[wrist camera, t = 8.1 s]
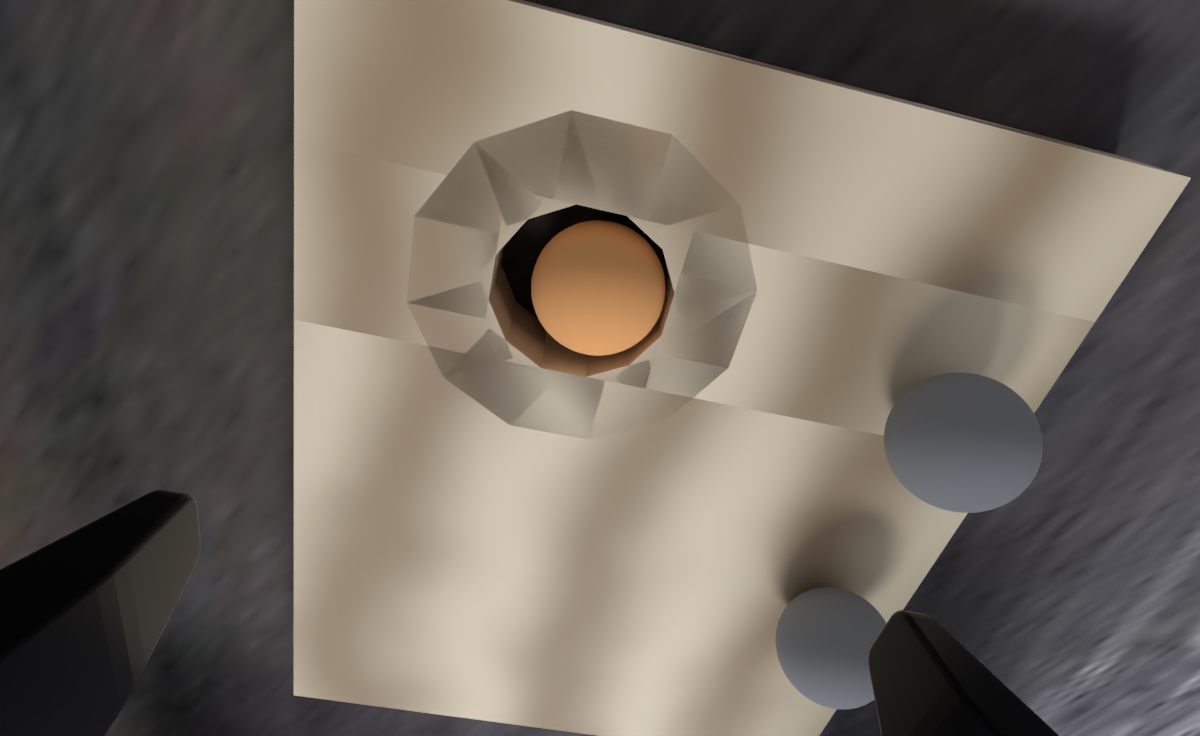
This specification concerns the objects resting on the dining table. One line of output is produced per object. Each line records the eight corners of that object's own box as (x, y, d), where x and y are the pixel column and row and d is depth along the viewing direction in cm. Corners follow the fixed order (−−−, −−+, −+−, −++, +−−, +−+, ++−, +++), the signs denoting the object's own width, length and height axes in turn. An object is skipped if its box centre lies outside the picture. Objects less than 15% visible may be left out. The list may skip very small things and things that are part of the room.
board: (1116, 154, 17) (1191, 177, 15) (785, 704, 29) (801, 762, 27) (338, -49, 15) (294, -56, 13) (318, 637, 26) (293, 695, 24)
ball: (654, 210, 18) (704, 260, 16) (623, 321, 20) (664, 384, 17) (532, 192, 17) (563, 243, 14) (510, 312, 19) (534, 378, 16)
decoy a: (888, 572, 21) (936, 668, 18) (844, 642, 23) (882, 741, 20) (786, 555, 21) (818, 650, 18) (750, 627, 23) (773, 726, 20)
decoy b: (1019, 362, 17) (1109, 440, 14) (956, 464, 19) (1023, 553, 16) (898, 336, 17) (964, 410, 14) (843, 443, 19) (891, 530, 16)
